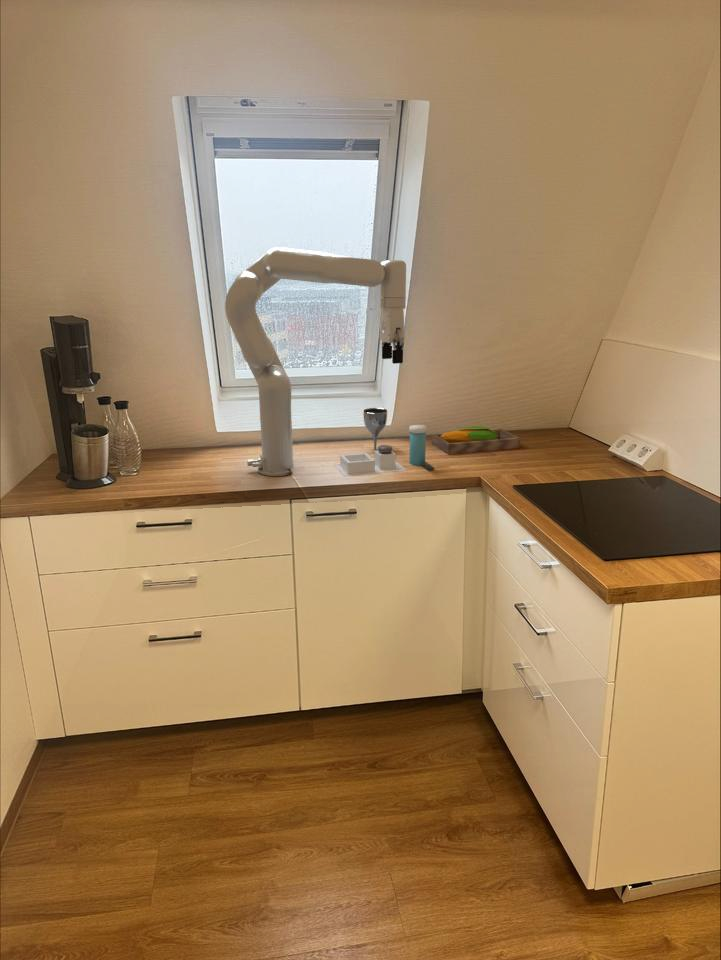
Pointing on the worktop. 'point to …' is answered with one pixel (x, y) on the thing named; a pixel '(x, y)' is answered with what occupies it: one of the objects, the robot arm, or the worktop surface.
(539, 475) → the worktop surface
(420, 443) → the cylinder
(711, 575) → the worktop surface
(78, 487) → the worktop surface
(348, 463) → the housing
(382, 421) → the wine glass
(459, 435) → the corn
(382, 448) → the plunger
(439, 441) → the brown rectangular tray
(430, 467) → the mat
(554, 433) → the worktop surface
